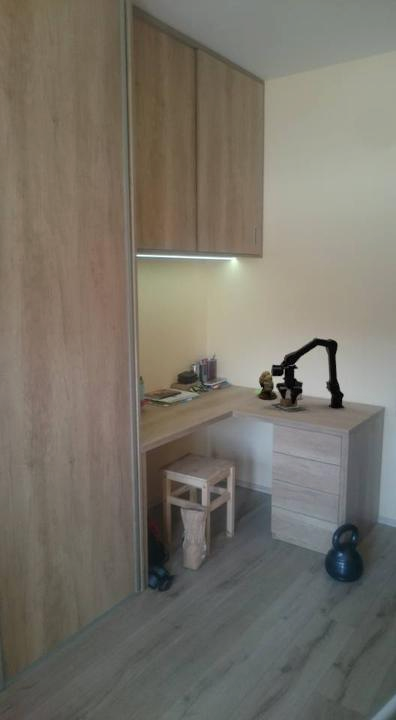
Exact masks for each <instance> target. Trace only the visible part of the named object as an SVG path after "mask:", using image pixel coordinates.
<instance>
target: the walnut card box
mask: <svg viewBox="0 0 396 720" xmlns="http://www.w3.org/2000/svg"><path fill="white" fill-rule="evenodd" d="M279 403H280V406H282V407H284V408H289V407H297V405H298V399H296V401H295V404H292V401H291V398H285V399H282V398H280V400H279Z"/></svg>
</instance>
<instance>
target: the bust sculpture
mask: <svg viewBox="0 0 396 720" xmlns="http://www.w3.org/2000/svg"><path fill="white" fill-rule="evenodd" d="M258 378H259V379H258V383H259V385H260V388H261V391H260V393H258V398H259V399H260V400H271V401H274V400H276V399H277V398H278V394H277V393H276V392H275V391H274V389H275V386H274V385H275V384H274V381H273V376H272V375H271V371H269V370H265V371H263V372H262V373H261V375H260V376H259V377H258Z"/></svg>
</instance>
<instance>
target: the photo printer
mask: <svg viewBox="0 0 396 720" xmlns="http://www.w3.org/2000/svg"><path fill="white" fill-rule="evenodd" d="M297 381H299V382H302V383H303V381H302V380H301V379H297ZM299 388H300V387H299ZM290 393H291V392H290V390H287V391H286V398H291V396H290ZM286 398H285V399H286ZM302 398H303V392H302V393H301V394H299V395H298V396H297V398H296V399H297V400H302Z"/></svg>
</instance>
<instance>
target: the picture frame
mask: <svg viewBox="0 0 396 720" xmlns="http://www.w3.org/2000/svg"><path fill="white" fill-rule="evenodd" d="M271 406H273V407H276V408H278V409H280V410H283V411H285V412H288V413H293V412H299V411H305V410H307V408H305V407H303V406H300V405H298V404H297V407H289V408H284V407H282V406H280V402H277V403H271Z"/></svg>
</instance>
